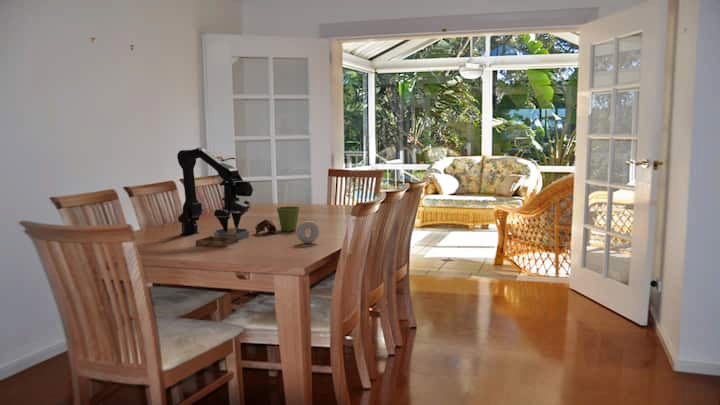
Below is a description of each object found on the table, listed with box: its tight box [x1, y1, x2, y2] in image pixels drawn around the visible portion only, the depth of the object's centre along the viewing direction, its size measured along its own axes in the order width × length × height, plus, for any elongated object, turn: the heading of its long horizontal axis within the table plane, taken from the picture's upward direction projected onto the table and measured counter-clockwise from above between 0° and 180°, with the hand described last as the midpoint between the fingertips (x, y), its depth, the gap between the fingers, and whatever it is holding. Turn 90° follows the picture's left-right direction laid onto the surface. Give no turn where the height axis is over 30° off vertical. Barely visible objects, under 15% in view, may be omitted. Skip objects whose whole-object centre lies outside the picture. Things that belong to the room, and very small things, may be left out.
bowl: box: [213, 227, 250, 240], centre depth 273 cm, size 15×15×3 cm
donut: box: [296, 220, 320, 244], centre depth 260 cm, size 10×4×10 cm, turn 111°
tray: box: [195, 235, 239, 249], centre depth 258 cm, size 14×11×2 cm
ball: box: [227, 227, 236, 234], centre depth 273 cm, size 4×4×4 cm
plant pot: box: [275, 205, 301, 232], centre depth 294 cm, size 12×12×11 cm
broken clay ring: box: [254, 219, 278, 235], centre depth 282 cm, size 12×10×8 cm
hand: (231, 229), depth 273 cm, fingers open, 9 cm apart
